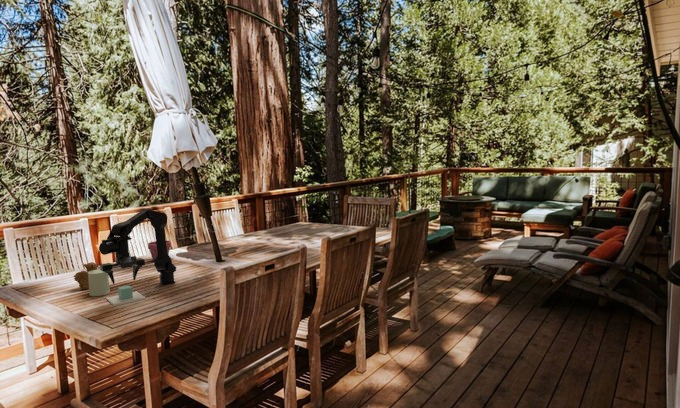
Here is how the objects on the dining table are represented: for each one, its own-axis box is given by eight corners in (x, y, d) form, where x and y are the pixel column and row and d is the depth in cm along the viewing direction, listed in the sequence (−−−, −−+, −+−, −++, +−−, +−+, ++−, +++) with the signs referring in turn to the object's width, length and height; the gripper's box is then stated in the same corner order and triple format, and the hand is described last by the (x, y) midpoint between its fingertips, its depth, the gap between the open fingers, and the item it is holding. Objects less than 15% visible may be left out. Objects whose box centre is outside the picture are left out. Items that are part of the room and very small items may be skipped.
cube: (129, 295, 209) (129, 285, 208) (132, 297, 205) (132, 287, 204) (118, 297, 205) (118, 287, 205) (121, 299, 202) (120, 289, 201)
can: (91, 291, 218) (89, 269, 217) (111, 289, 221) (109, 267, 220) (87, 297, 209) (85, 273, 208) (108, 294, 213) (106, 271, 211)
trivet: (136, 292, 215) (136, 291, 215) (145, 299, 204) (145, 297, 204) (106, 299, 206) (106, 297, 206) (113, 306, 195) (113, 304, 195)
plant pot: (150, 259, 290) (149, 241, 289) (172, 257, 295) (171, 239, 293) (147, 264, 277) (146, 244, 275) (170, 262, 281) (169, 243, 280)
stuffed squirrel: (108, 284, 232) (106, 260, 230) (86, 291, 218) (84, 267, 217) (93, 283, 234) (91, 260, 233) (71, 290, 221) (69, 266, 220)
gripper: (104, 256, 190) (107, 289, 192) (147, 249, 203) (149, 281, 204) (98, 252, 199) (101, 284, 200) (140, 246, 211) (142, 277, 212)
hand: (124, 282), depth 204 cm, fingers open, 9 cm apart
